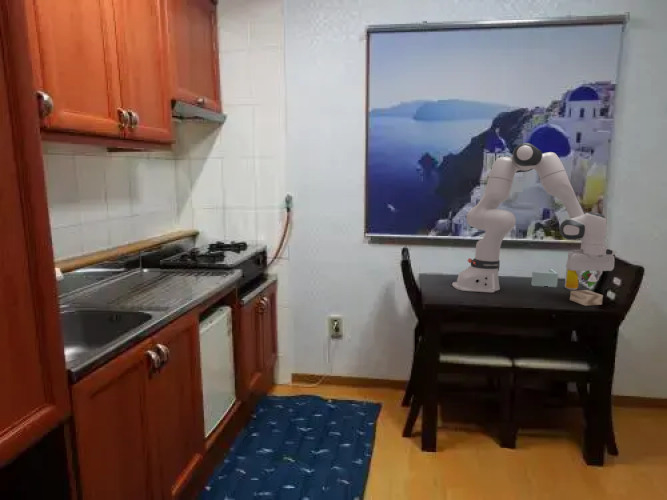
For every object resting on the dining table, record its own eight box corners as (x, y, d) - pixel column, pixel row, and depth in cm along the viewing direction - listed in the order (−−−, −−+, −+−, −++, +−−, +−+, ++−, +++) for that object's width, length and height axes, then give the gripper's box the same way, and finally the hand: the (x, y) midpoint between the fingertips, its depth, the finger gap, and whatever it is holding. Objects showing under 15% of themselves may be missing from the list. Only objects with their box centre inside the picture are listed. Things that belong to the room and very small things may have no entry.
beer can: (579, 290, 234) (583, 260, 232) (566, 289, 236) (569, 259, 233) (575, 287, 240) (579, 258, 238) (562, 286, 241) (566, 257, 239)
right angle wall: (549, 282, 252) (550, 268, 251) (556, 288, 240) (558, 273, 239) (525, 281, 254) (527, 267, 252) (531, 286, 242) (533, 272, 241)
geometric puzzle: (573, 281, 216) (580, 270, 210) (584, 274, 218) (591, 264, 212) (586, 292, 212) (593, 282, 206) (597, 285, 214) (604, 275, 208)
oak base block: (584, 306, 208) (585, 296, 208) (569, 300, 217) (570, 290, 216) (601, 305, 211) (602, 295, 210) (586, 299, 219) (587, 290, 218)
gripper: (573, 250, 206) (569, 281, 209) (618, 251, 208) (614, 282, 210) (565, 248, 212) (561, 278, 215) (609, 248, 214) (605, 278, 216)
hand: (588, 280), depth 213 cm, fingers closed on geometric puzzle, 6 cm apart
